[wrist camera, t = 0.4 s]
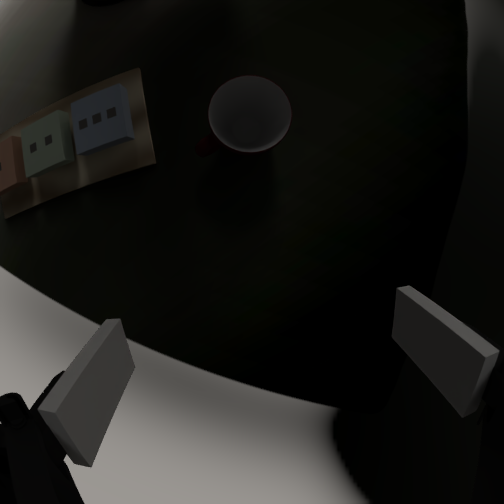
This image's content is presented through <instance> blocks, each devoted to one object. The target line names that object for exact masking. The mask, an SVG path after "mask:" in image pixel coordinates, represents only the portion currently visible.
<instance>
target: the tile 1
mask: <svg viewBox="0 0 504 504" xmlns="http://www.w3.org/2000/svg"><path fill="white" fill-rule="evenodd" d="M27 182H28V178H26V173H25V166H24V159H23V150H22V140H21V137H17V136H10V137H9V138H7V139H6V140H4V141H2V142H1V143H0V196H2V195H3V194H5V193H7V192H9V191H11V190H13V189H15V188H17V187H19V186H21V185H23V184H25V183H27Z"/></svg>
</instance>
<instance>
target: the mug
mask: <svg viewBox="0 0 504 504" xmlns="http://www.w3.org/2000/svg"><path fill="white" fill-rule="evenodd" d="M291 121H292V108H291V104H290V101H289V99H288V97H287V95H286V93H285V92H284V91H283V90H282V88H281V87H279V86H278V85H277V84H276V83H274V82H273V81H271V80H269V79H267V78H264V77H261V76H256V75H243V76H238V77H235V78H232V79H230V80H228V81H226V82H225V83H223V84H222V85H221V86H220V87H219V88H218V89H217V90H216V91H215V93H214V94H213V96H212V98H211V100H210V103H209V106H208V122H209V126H210V129H211V134H209V135H208V136H206V137H204V138H203V139H202V140H201V141H199V142H198V143H197V144H196V146H195V151H196V153H197V154H198V155H199V156H200V157H205V156H208V155H210V154H212V153H214V152H215V151H217V150H218V149H220V148H221V147H224V148H225V149H227V150H229V151H231V152H233V153H236V154H239V155H246V156H252V155H259V154H262V153H265V152H267V151H269V150H271V149H272V148H274V147H275V146H276V145H278V144H279V143H280V142H281V141H282V139H283V138H284V137H285V136H286V134H287V132H288V130H289V128H290V125H291Z"/></svg>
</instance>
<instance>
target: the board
mask: <svg viewBox="0 0 504 504" xmlns="http://www.w3.org/2000/svg"><path fill="white" fill-rule="evenodd" d="M118 83H120V84H121V85H122V86H124V87H125V88H126V89H127V93H128V100H129V107H130V113H131V119H132V125H133V131H134V137H135V139H133V140H130V141H127V142H124V143H121V144H118V145H115V146H112V147H110V148H107V149H104V150H101V151H99V152H96V153H93V154H91V155H88V156H84V155H77V152H76V145H75V138H74V131H73V122H72V113H71V103H73V102H75V101H77V100H79V99H82V98H84V97H86V96H89V95H91V94H93V93H96V92H98V91H100V90H103V89H105V88H108V87H111V86H113V85H116V84H118ZM56 110H61V111H64V112H67V113H69V121H70V130H71V138H72V145H73V152H74V158H75V161H73V162H71V163H68V164H66V165H64V166H61V167H59V168H57V169H54V170H52V171H50V172H48V173H46V174H43V175H41V176H39V177H32V178H28V182H27V183H25V184H23V185H21V186H19V187H17V188H15V189H13V190H11V191H9V192H7V193H5V194H3V195H2V196H1V200H2V205H3V211H4V215H5V219H7V218H9V217H12V216H14V215H16V214H18V213H20V212H23V211H25V210H27V209H29V208H32V207H34V206H36V205H39V204H41V203H43V202H46V201H48V200H51V199H53V198H56V197H58V196H61V195H63V194H66V193H69V192H71V191H74V190H77V189H79V188H82V187H85V186H87V185H90V184H93V183H96V182H99V181H102V180H105V179H108V178H111V177H114V176H117V175H120V174H123V173H126V172H129V171H133V170H136V169H139V168H143V167H146V166H149V165H153V164H156V159H155V154H154V149H153V144H152V138H151V133H150V127H149V122H148V116H147V110H146V104H145V98H144V91H143V84H142V78H141V70H140V68H139V67H138V68H135V69H133V70H130V71H127V72H124V73H121V74H119V75H116V76H113V77H111V78H108V79H106V80H103V81H101V82H98V83H96V84H94V85H91V86H89V87H87V88H84V89H82V90H80V91H78V92H76V93H73V94H71V95H69V96H67V97H65V98H63V99H61V100H59V101H57V102H55V103H53V104H51V105H49V106H48V107H46V108H44V109H42V110H40V111H38V112H37V113H35V114H33V115H31V116H30V117H28V118H26V119H24V120H23V121H21V122H20V123H18V124H16V125H15V126H13V127H11V128H10V129H8V130H7V131H5V132H4V133H2V134H1V135H0V143H1V142H2V141H4V140H6V139H7V138H9V137H10V136H17V137H21V130H22V129H23V128H25V127H27V126H29V125H30V124H32V123H34V122H36V121H37V120H39V119H41V118H43V117H45V116H47V115H49V114H51V113H52V112H54V111H56Z"/></svg>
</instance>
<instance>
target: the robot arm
mask: <svg viewBox="0 0 504 504" xmlns="http://www.w3.org/2000/svg"><path fill="white" fill-rule="evenodd" d="M82 1H83V2H84V3H85V4H87V5H91V6H106V5H111V4H114V3H118V2H120V1H123V0H82ZM392 338H393V339H394V340H395V341H396V342H397V343H398V345H399V346H400V347H401V348H402V349H403V350H404V351H405V352H406V353H407V354H408V356H409V357H410V358H411V359H412V360H413V361H414V362H415V363H416V364H417V365H418V367H419V368H420V369H421V370H422V371H423V372H424V373H425V375H426V376H427V377H428V378H429V379H430V380H431V381H432V383H433V384H434V385H435V386H436V387H437V388H438V390H439V391H440V392H441V393H442V394H443V395H444V396H445V397H446V399H447V400H448V401H449V402H450V404H451V405H452V406H453V407H454V408H455V409H456V411H457V412H458V413H459V414H460V415H461V416H462V418H463V417H465V416H467V415H469V414H471V413H473V412H474V411H476V410H477V408H478V406H479V403H480V401H481V399H483V400H484V401H485V402H486V405H485V407H484V409H483V412H482V413H481V416H480V418H479V420H478V422H477V425H479V424H480V422H481V420H482V419H483V426H482V436H481V445H480V453H479V460H478V466H477V473H476V478H475V483H474V488H473V492H472V497H471V501H470V504H504V349H503V348H501V347H500V346H499V345H497V344H496V343H495V342H493V341H492V340H491V339H490V338H487V336H485V335H484V334H483V333H481V332H480V331H478V330H477V329H476V328H475V327H473V326H471V325H468V324H465V323H462V322H461V321H459V320H458V319H456V318H455V317H454V316H452V315H451V314H450V313H448V312H447V311H445V310H444V309H443V308H441V307H440V306H438V305H437V304H435V303H434V302H433V301H431V300H430V299H428V298H427V297H425V296H424V295H422V294H421V293H420V292H418V291H417V290H415V289H414V288H412V287H411V286H405V287H399V288H397V292H396V303H395V313H394V323H393V331H392ZM134 368H135V365H134V362H133V359H132V356H131V353H130V350H129V347H128V343H127V340H126V337H125V334H124V330H123V327H122V323H121V320H120V319H106V320H105V322H104V323H103V324H102V325H101V326H100V328H99V329H98V330H97V331H96V333H95V334H94V335H93V336H92V338H91V339H90V340H89V341H88V343H87V344H86V345H85V346H84V348H83V349H82V350H81V351H80V353H79V354H78V355H77V357H76V358H75V359H74V360H73V362H72V363H71V364H70V366H69V367H68V368H67V370H66V371H62V372H61V373H59V374H58V375H56V376H55V377H54V378H53V379H52V381H51V382H50V383H49V385H48V386H47V387H46V388H45V390H44V393H42V394H41V395H40V396H39V398H38V399H37V400H36V402H35V403H34V404H33V406H32V407H31V409H30V410H29V409H28V407H27V405H26V404H25V402H24V400H23V398H22V397H21V395H19V394H18V393H8V394H5V395H3V396H1V397H0V422H1V423H2V424H0V504H84V502H83V500H82V498H81V496H80V494H79V492H78V489H77V487H76V485H75V483H74V480H73V478H72V476H71V473H70V471H69V469H68V466H67V465H66V463H65V462H64V461H63V460H64V458H65V456H66V454H67V455H68V456H69V458H70V459H71V460H72V461H73V463H74V464H78V465H82V466H86V467H92V465H93V462H94V460H95V457H96V455H97V452H98V449H99V447H100V445H101V443H102V440H103V438H104V435H105V433H106V431H107V428H108V426H109V424H110V421H111V419H112V417H113V414H114V412H115V410H116V408H117V405H118V403H119V401H120V399H121V396H122V394H123V392H124V390H125V388H126V386H127V383H128V381H129V379H130V377H131V375H132V373H133V371H134Z"/></svg>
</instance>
